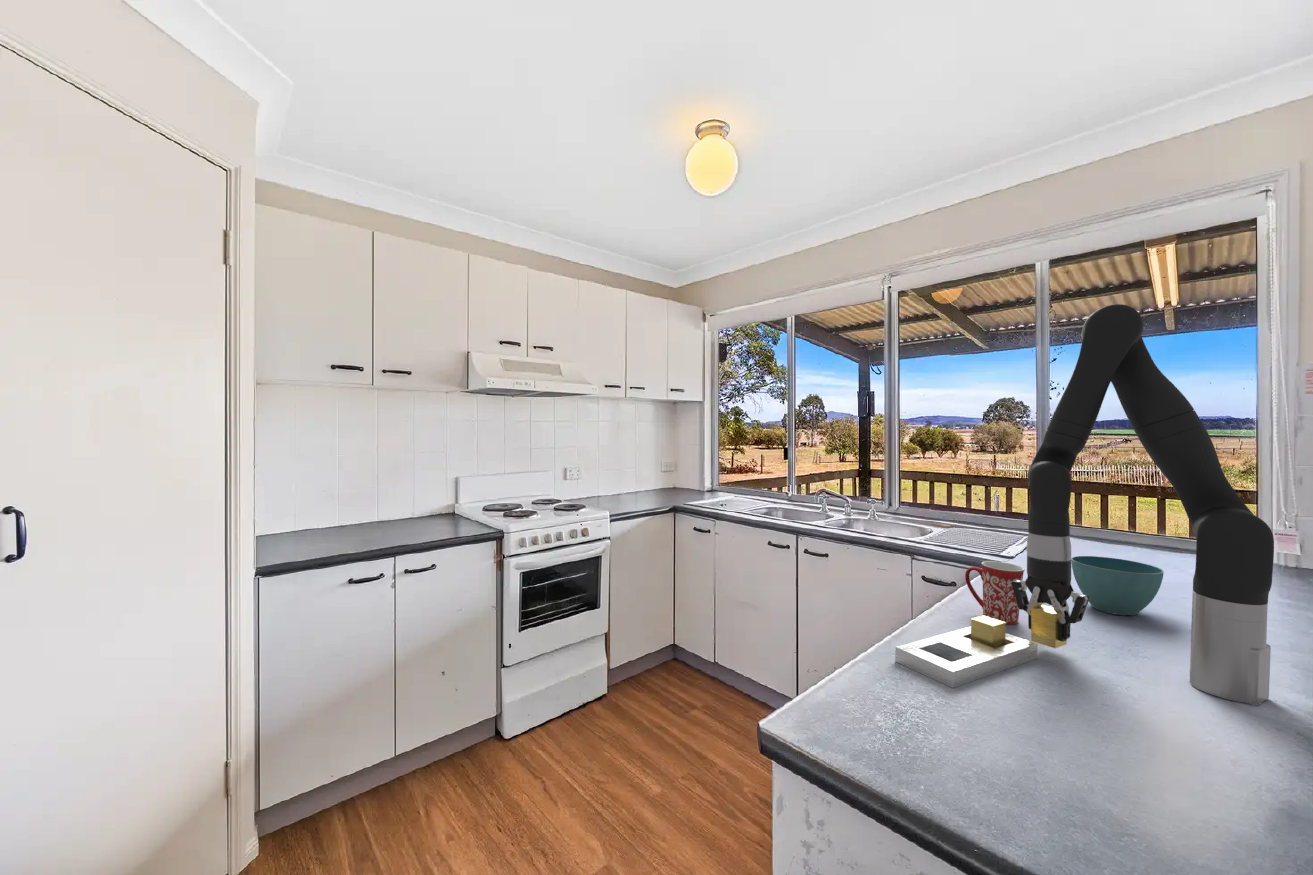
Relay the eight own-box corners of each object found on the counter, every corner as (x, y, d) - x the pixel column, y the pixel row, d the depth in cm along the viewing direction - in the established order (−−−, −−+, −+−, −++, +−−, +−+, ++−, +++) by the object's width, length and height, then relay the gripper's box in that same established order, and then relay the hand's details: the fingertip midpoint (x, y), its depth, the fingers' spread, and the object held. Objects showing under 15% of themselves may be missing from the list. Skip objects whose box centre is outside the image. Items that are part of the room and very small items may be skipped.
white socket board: (978, 637, 119) (979, 624, 119) (1037, 658, 109) (1037, 643, 108) (895, 661, 106) (895, 646, 106) (952, 688, 95) (953, 671, 95)
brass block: (1066, 644, 110) (1066, 610, 110) (1055, 648, 108) (1055, 614, 108) (1042, 637, 114) (1042, 604, 114) (1031, 640, 112) (1031, 608, 112)
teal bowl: (1070, 594, 151) (1072, 552, 151) (1158, 609, 140) (1159, 563, 140) (1069, 611, 137) (1070, 564, 137) (1165, 628, 126) (1167, 577, 126)
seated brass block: (1004, 655, 110) (1005, 622, 110) (992, 660, 108) (993, 625, 107) (982, 647, 114) (983, 615, 113) (970, 651, 112) (971, 618, 111)
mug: (1028, 620, 130) (1029, 566, 130) (1016, 629, 124) (1017, 572, 124) (972, 606, 140) (973, 556, 139) (958, 614, 134) (959, 561, 134)
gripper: (1098, 560, 107) (1098, 644, 107) (1021, 547, 119) (1021, 622, 119) (1079, 564, 103) (1079, 652, 103) (1002, 550, 116) (1002, 628, 116)
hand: (1048, 635), depth 111 cm, fingers closed on brass block, 4 cm apart
